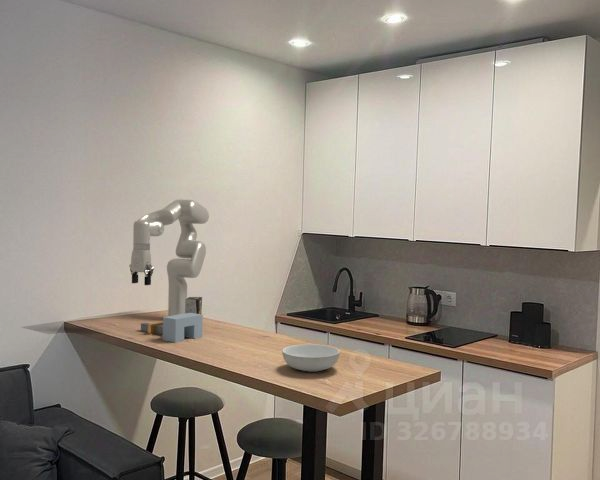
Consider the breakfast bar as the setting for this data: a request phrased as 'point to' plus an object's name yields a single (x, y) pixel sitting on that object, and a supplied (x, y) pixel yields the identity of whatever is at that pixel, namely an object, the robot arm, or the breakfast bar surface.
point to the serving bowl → (310, 357)
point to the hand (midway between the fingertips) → (141, 284)
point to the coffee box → (193, 305)
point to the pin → (152, 328)
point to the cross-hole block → (182, 327)
